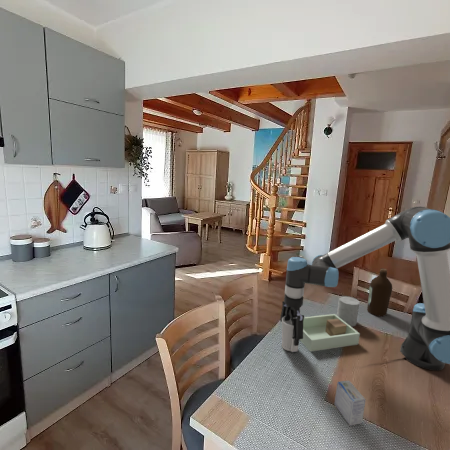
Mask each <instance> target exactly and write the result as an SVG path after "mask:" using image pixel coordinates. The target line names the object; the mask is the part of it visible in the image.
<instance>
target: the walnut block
mask: <svg viewBox="0 0 450 450" xmlns="http://www.w3.org/2000/svg"><path fill="white" fill-rule="evenodd" d="M346 327H347V326H346V325H345V324H344V323H343V322H341V321H340V320H339V319H331V320H327V323H326V331H325V332H326V333H327V334H328V335H330V336H335V335H342V334H345V333H346Z"/></svg>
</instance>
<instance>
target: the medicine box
mask: <svg viewBox="0 0 450 450" xmlns="http://www.w3.org/2000/svg"><path fill="white" fill-rule="evenodd" d="M336 383H337V384H336V390H335V397H334V403H333V404H334V406H335V407H336V408H337V410H338V411H339V413H340V414H341V415H342V418H344V420H345V421H346V422H347V424H348V425H349V426H355V425H360V424H363V421H364V420H363V418H364V415H365V405H366V401H367V400H366V398H365V397H364V395H362V394H361V392H360V391H359V390H358V389H357V388H356V387H355V385H354V384H353V382H351V380H341V381H337V382H336Z"/></svg>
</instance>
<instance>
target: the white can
mask: <svg viewBox="0 0 450 450" xmlns="http://www.w3.org/2000/svg"><path fill="white" fill-rule="evenodd" d="M360 304H361V303H360V301H359V300H358V299H357V298H355V297H352V296H348V295H341V296H339V297H338V303H337V311H336V315H337V316H338V317H339V318H341V319H342V320H343V321H344V322H346V323H347V324H348V325H350V326H351V327H352V328H353V327H355V326H357V321H358V315H359V308H360Z"/></svg>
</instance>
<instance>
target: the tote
mask: <svg viewBox="0 0 450 450" xmlns="http://www.w3.org/2000/svg"><path fill="white" fill-rule="evenodd" d="M331 319H339V320H340V321H341V322H343V323H344V324H345V325H346V326H347V327H346V333H345V334H342V335H335V336H330V335H328V334H327V333H326V332H325V331H326V323H327V320H331ZM360 335H361V333H360V332H358V330H357V329H355V328H353V326H352V327H351V326H350V325H348V324H347V323H346V322H344V321H343V320H342V319H341V318H339V317H338V316H337V314H336V313H331V314H322V315H321V314H320V315H313V316H304V320H303V339H299V342H301V343H302V344H303V346H305V348H306V349H307V350H308V351H309V352H312V353H313V352H316V351H317V352H319V351H324V350H330V349H331V350H332V349H338V348H342V347H350V346H357V345H359V342H360V341H359V340H360Z"/></svg>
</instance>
